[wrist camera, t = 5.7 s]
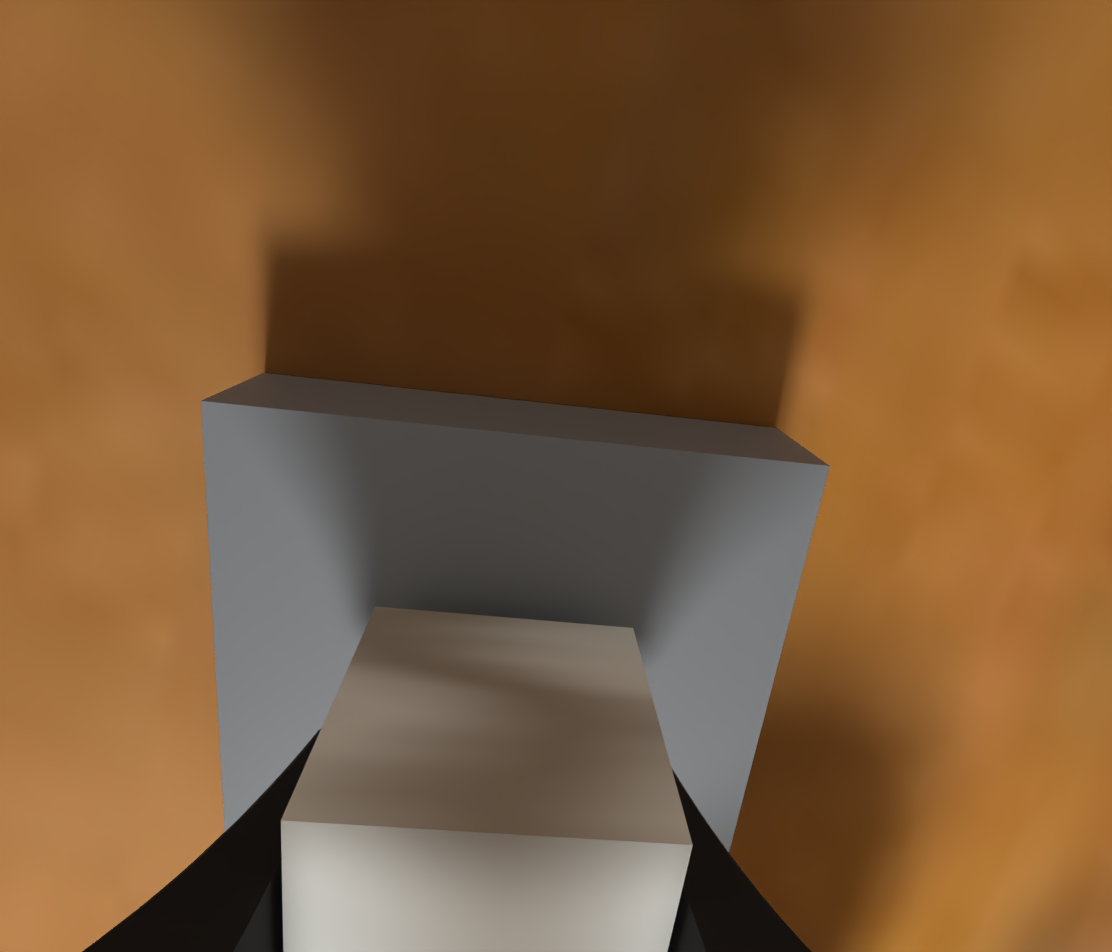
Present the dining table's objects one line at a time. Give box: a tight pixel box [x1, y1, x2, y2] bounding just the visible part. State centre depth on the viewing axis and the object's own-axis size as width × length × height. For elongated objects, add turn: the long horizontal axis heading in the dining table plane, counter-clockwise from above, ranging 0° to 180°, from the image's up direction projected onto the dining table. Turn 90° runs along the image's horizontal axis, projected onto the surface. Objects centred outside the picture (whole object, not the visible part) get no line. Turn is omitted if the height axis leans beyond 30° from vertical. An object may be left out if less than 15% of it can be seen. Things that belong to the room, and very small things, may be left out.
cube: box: [281, 606, 693, 952], centre depth 11 cm, size 5×5×5 cm
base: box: [201, 373, 830, 852], centre depth 16 cm, size 12×12×3 cm
